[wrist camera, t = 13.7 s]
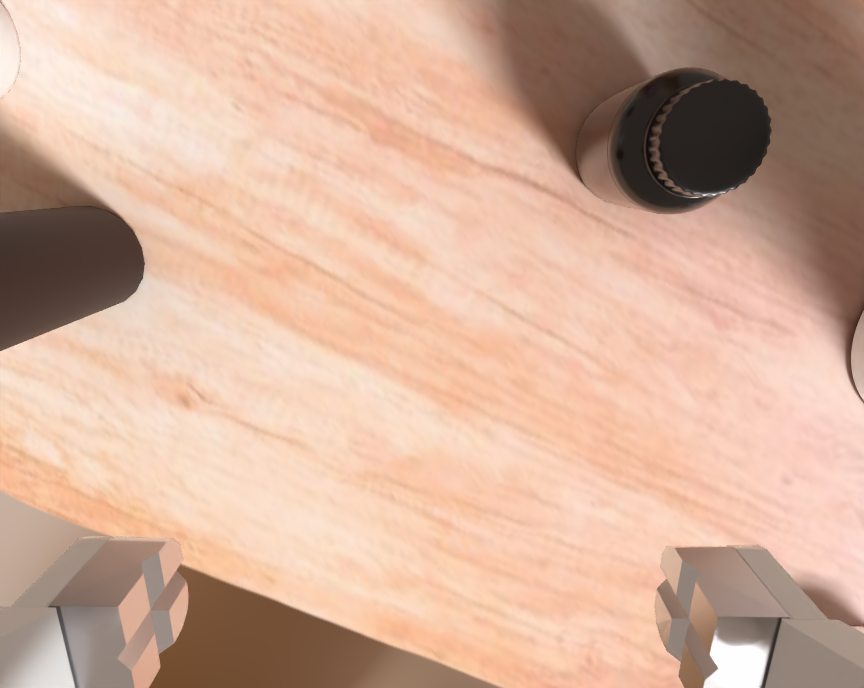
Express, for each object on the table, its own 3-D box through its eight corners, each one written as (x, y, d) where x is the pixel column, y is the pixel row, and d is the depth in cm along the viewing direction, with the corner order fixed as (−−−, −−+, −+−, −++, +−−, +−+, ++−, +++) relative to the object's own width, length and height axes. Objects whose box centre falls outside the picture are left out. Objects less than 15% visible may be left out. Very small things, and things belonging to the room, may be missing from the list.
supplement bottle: (626, 66, 33) (724, 8, 22) (703, 141, 34) (835, 124, 23) (549, 158, 35) (602, 151, 23) (625, 227, 36) (712, 252, 25)
